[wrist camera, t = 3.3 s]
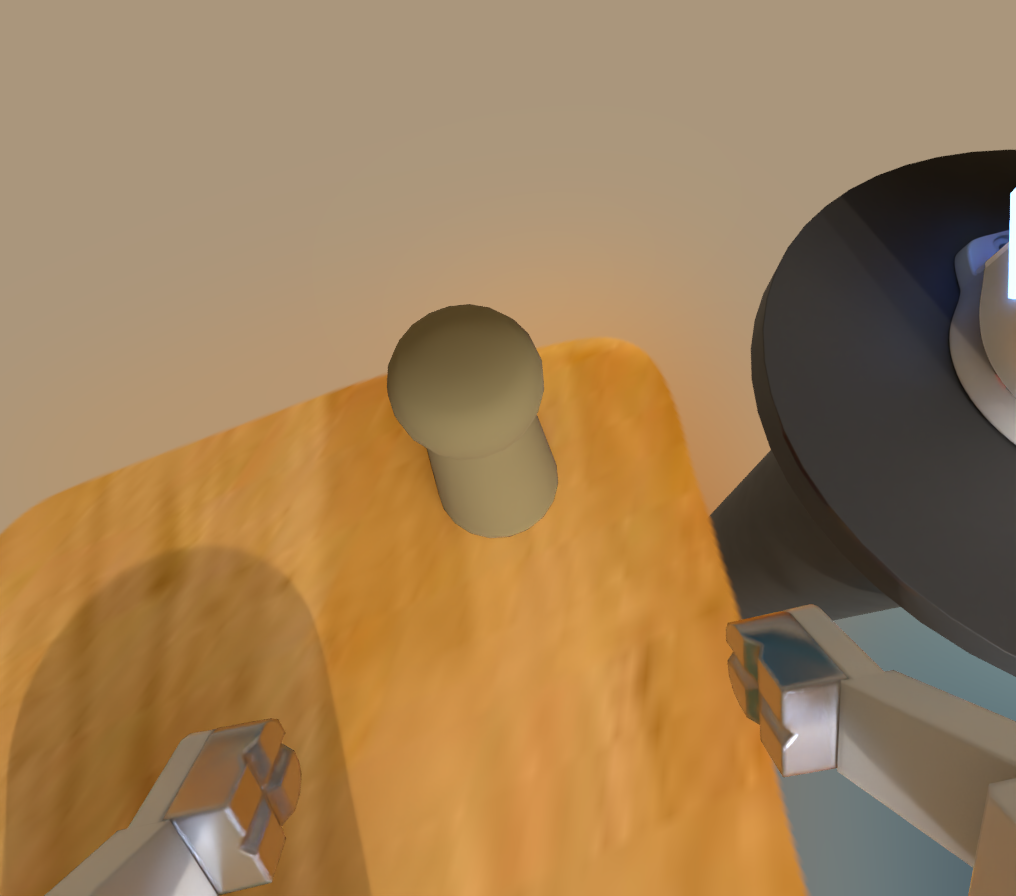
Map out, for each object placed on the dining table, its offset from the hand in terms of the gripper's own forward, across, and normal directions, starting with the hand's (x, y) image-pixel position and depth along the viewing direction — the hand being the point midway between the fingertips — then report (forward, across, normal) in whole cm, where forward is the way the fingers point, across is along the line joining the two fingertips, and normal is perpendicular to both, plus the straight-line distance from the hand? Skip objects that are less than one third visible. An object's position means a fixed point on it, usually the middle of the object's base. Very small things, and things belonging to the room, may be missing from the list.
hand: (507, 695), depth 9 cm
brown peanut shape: (+17, 0, +3) cm, 17 cm away
